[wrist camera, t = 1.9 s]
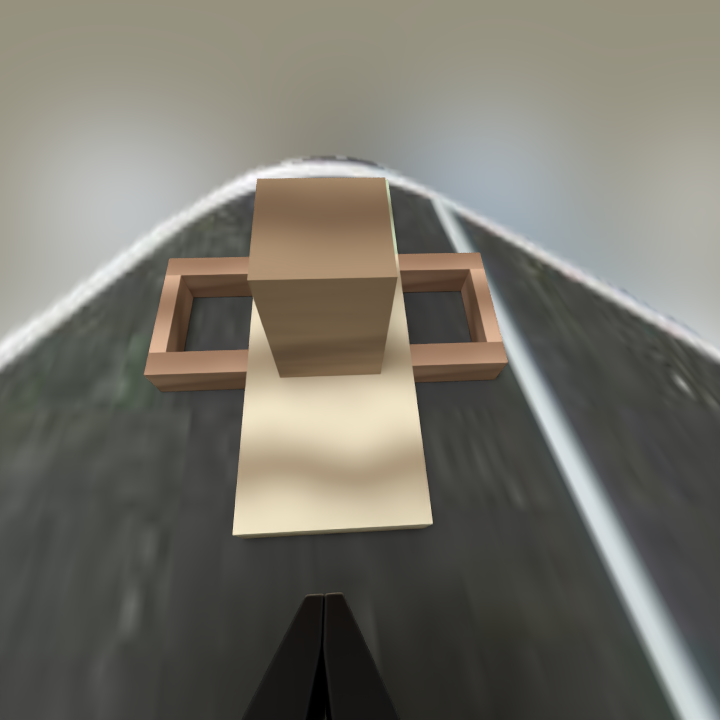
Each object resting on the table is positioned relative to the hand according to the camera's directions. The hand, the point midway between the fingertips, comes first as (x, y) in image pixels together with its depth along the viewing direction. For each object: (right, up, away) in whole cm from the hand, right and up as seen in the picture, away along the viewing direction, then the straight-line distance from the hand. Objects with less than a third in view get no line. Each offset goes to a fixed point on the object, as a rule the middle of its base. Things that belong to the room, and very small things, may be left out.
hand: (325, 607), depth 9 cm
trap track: (-1, +7, +19) cm, 21 cm away
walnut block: (-1, +7, +16) cm, 18 cm away
